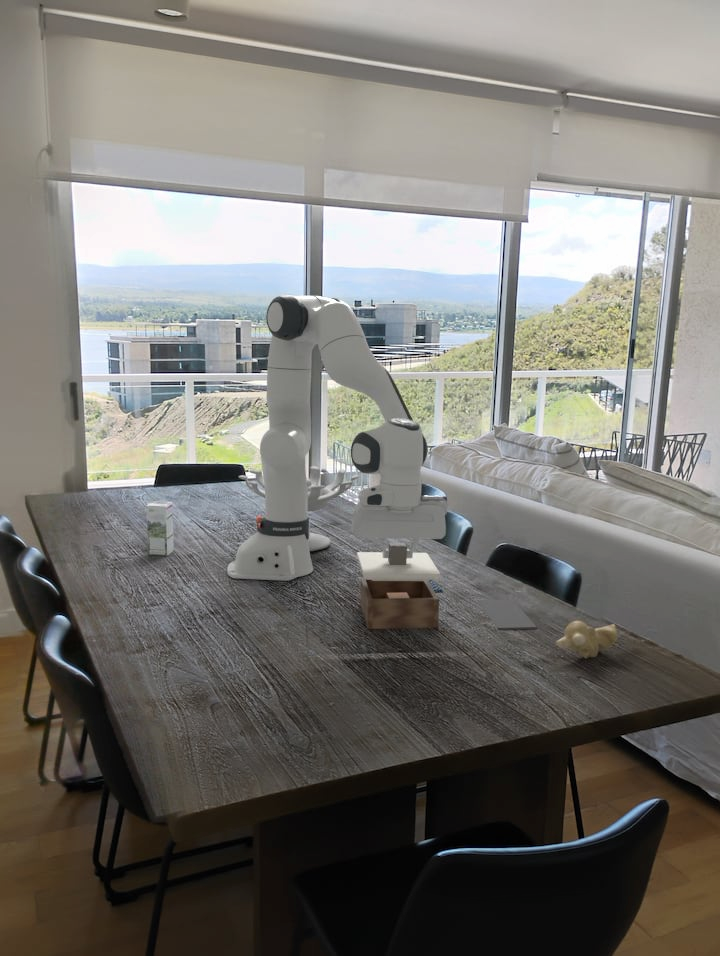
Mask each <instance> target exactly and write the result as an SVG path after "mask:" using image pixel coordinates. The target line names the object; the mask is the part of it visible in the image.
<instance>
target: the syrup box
mask: <svg viewBox="0 0 720 956" xmlns="http://www.w3.org/2000/svg"><path fill="white" fill-rule="evenodd" d="M173 510H174V509H173V502H172V501H154V500H153V501H150V502H149V503H148V504H147V505H146V527H147V532H146V534H147V553H148V556H159V557H160V556H161V557H162V556H163V557H167V556H169V555H171V554H172V553H173V552H174V550H175V549H174V547H175V545H174V521H173V520H174V515H173V514H174V513H173Z"/></svg>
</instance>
